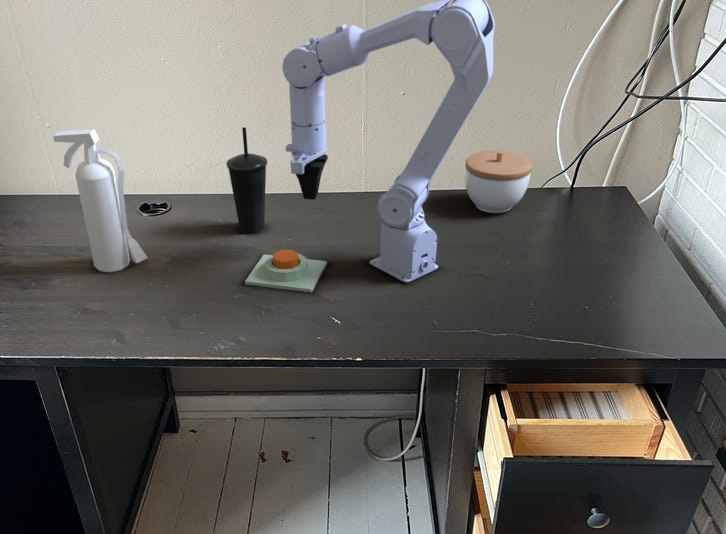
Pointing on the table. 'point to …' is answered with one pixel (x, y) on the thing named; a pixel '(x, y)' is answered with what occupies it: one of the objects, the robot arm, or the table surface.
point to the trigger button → (285, 259)
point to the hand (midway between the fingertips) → (310, 197)
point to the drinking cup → (248, 188)
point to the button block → (287, 274)
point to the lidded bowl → (497, 179)
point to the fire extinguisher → (101, 202)
